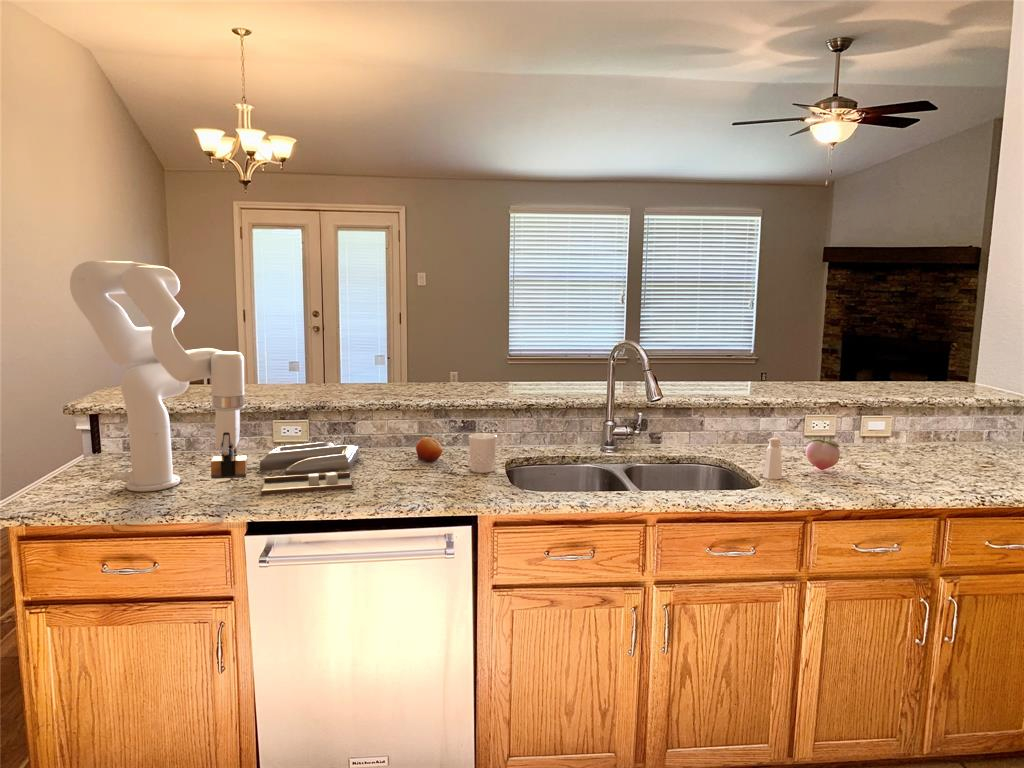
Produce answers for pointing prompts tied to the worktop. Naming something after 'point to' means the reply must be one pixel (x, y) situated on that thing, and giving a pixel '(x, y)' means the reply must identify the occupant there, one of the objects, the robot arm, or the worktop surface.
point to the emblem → (310, 458)
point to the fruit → (428, 449)
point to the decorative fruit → (822, 453)
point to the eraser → (239, 467)
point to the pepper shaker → (773, 460)
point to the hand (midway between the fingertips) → (229, 472)
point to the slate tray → (303, 483)
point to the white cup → (482, 452)
